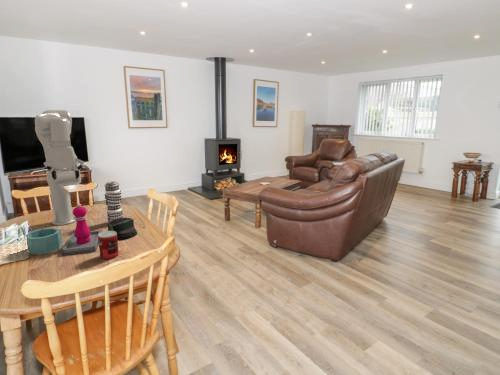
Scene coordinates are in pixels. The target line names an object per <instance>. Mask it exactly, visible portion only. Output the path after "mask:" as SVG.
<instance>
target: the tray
mask: <svg viewBox="0 0 500 375" xmlns="http://www.w3.org/2000/svg"><path fill="white" fill-rule="evenodd" d="M90 231H91V234H90V236H89V237H90V239H91V241H90V242H88V243H85V244H77V242H76V239H77V238H76V237H75V235H74V233H75V232H72V234H71V235H70V236H69V238H68V239H67V242H66V243H65V244H64V246H63V247H62V249H61V254H62V256H67V255H75V254H76V255H77V254H85V253H93V252H94V253H95V252H96V251H97V248H99V242H98V234H99V233H101V232H103V229H100V230H99V229H98V230H90Z"/></svg>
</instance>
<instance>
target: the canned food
mask: <svg viewBox="0 0 500 375" xmlns="http://www.w3.org/2000/svg"><path fill="white" fill-rule="evenodd" d="M98 242H99V244H98V248H99V256H100V258H101V259H103V260H111V259H115V258H116V257H118V256H119V252H120V251H119V243H118V242H119V241H118V240H117V233H116V232H115V231H107V230H106V231H105V230H103V231H102V232H101V233H99V234H98Z"/></svg>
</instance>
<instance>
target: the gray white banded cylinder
mask: <svg viewBox="0 0 500 375" xmlns="http://www.w3.org/2000/svg"><path fill="white" fill-rule="evenodd" d="M104 188H105V189H104V190H105V194H104V199H105V205H106V208H107V210H106V211H107V212H106V215H107V216H106V217H107V222H108V223H109V222H110V221H111V220H115V219H116V218H117V219H118V218H123V217H124V215H123V210H122V209H123V208H122V205H121V204H122V201H121V200H122V196H121V195H122V190H120V189H121V188H120V183H118V182H117V181H108V182H106V183H105V184H104ZM108 223H107V224H108Z"/></svg>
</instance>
